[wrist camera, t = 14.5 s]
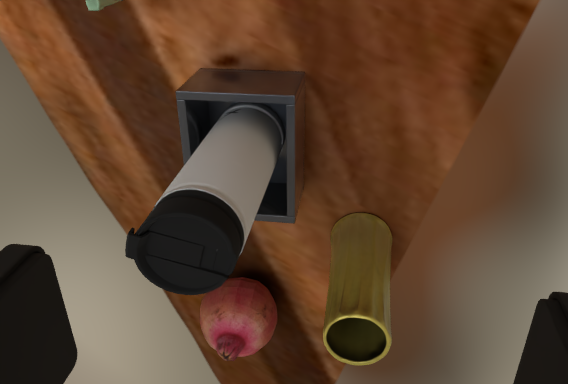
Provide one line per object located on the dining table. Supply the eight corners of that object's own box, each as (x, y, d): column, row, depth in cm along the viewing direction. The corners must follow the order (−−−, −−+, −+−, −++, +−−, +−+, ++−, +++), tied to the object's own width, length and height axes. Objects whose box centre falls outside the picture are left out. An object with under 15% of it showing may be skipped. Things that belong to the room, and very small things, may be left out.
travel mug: (221, 90, 46) (128, 200, 28) (293, 111, 46) (242, 235, 28) (209, 151, 49) (118, 284, 32) (275, 171, 49) (221, 316, 32)
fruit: (287, 267, 55) (270, 334, 46) (279, 322, 59) (263, 394, 50) (213, 253, 56) (183, 317, 47) (211, 309, 60) (183, 377, 51)
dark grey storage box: (200, 68, 46) (175, 90, 40) (305, 71, 44) (294, 95, 39) (210, 181, 51) (189, 216, 46) (304, 187, 50) (294, 223, 44)
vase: (357, 272, 54) (352, 380, 41) (318, 233, 52) (300, 334, 40) (404, 242, 51) (413, 348, 39) (364, 200, 50) (361, 297, 37)
